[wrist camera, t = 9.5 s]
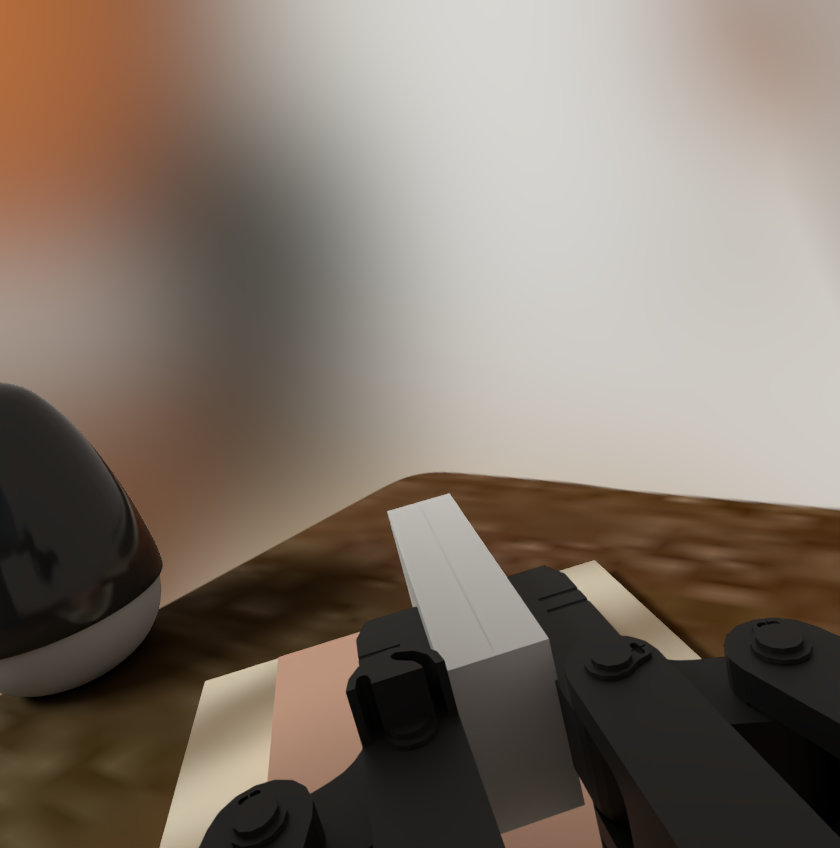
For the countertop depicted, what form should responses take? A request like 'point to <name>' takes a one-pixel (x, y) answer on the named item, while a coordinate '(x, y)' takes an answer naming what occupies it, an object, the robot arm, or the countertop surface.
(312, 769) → the tile
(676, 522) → the countertop surface
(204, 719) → the cloth
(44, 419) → the black glossy egg shape
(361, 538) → the countertop surface
